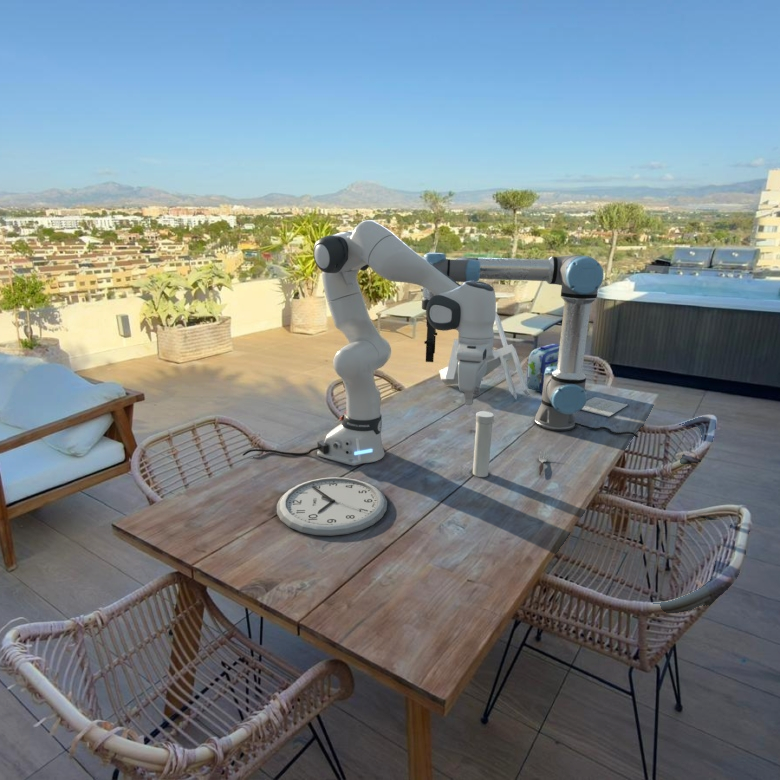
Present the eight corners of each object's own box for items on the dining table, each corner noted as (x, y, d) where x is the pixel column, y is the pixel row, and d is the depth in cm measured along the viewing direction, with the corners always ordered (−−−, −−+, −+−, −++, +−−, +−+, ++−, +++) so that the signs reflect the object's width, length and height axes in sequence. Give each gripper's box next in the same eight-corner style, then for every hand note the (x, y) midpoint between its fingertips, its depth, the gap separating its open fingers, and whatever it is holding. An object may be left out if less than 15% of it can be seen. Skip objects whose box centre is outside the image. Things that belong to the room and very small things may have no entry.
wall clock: (392, 527, 129) (268, 531, 127) (391, 533, 130) (269, 537, 127) (383, 473, 158) (282, 475, 155) (383, 478, 158) (282, 480, 156)
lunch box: (542, 396, 239) (547, 351, 232) (522, 391, 246) (526, 347, 240) (570, 385, 256) (575, 343, 250) (550, 380, 263) (554, 339, 257)
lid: (489, 417, 160) (490, 410, 160) (496, 423, 155) (496, 416, 155) (473, 418, 160) (473, 411, 159) (479, 424, 154) (479, 417, 154)
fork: (535, 475, 162) (535, 469, 161) (539, 455, 176) (540, 450, 175) (543, 477, 161) (544, 471, 160) (547, 456, 175) (548, 451, 175)
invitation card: (608, 416, 214) (573, 407, 224) (608, 416, 214) (573, 408, 224) (628, 404, 229) (594, 396, 238) (628, 405, 229) (594, 397, 238)
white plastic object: (461, 429, 252) (437, 405, 227) (444, 352, 274) (420, 323, 250) (535, 404, 240) (518, 377, 215) (510, 326, 262) (492, 293, 237)
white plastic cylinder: (485, 469, 165) (489, 412, 160) (490, 476, 161) (495, 417, 155) (470, 470, 165) (474, 413, 159) (475, 477, 160) (480, 418, 154)
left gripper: (470, 338, 142) (468, 387, 147) (454, 354, 124) (452, 409, 128) (494, 340, 140) (490, 389, 145) (481, 356, 122) (477, 412, 126)
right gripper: (424, 293, 195) (422, 349, 202) (419, 302, 172) (417, 365, 178) (444, 294, 195) (441, 350, 201) (442, 303, 171) (439, 366, 177)
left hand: (472, 399), depth 136 cm, fingers open, 8 cm apart
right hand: (430, 357), depth 190 cm, fingers open, 13 cm apart
